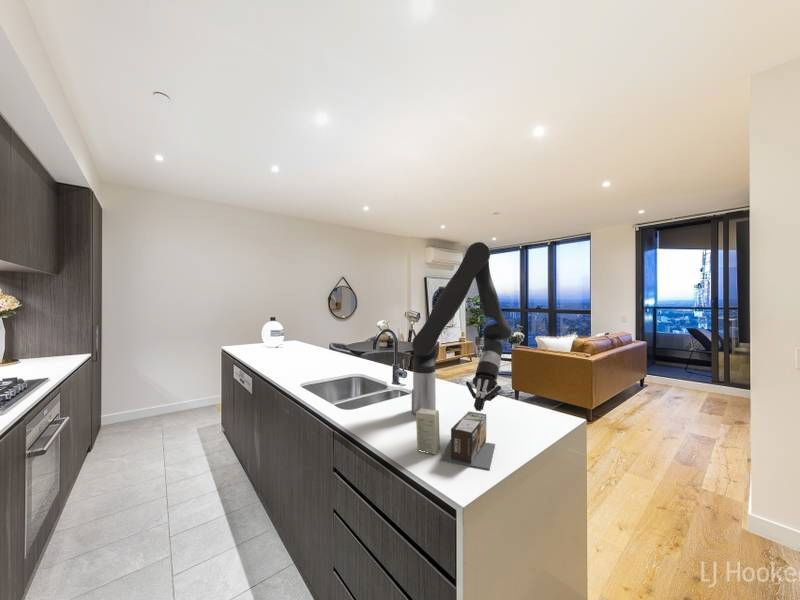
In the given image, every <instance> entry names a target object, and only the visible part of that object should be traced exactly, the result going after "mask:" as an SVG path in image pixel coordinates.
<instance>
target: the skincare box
mask: <svg viewBox="0 0 800 600" xmlns="http://www.w3.org/2000/svg"><path fill="white" fill-rule="evenodd" d="M415 418H416V419H415V421H416V447H417V449H416V450H421V451H425V452H428V453H427V454H429V453H432V454H431V455H437V454H436V453H439V451H440V449H441V444H440V443H441V441H440V440H441V438H440V413H439V409H436V410H432V409H423V408H421V409H419V410H418V411H417V412H416V414H415Z"/></svg>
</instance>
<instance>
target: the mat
mask: <svg viewBox="0 0 800 600" xmlns="http://www.w3.org/2000/svg"><path fill="white" fill-rule="evenodd" d="M495 447H496V443H492V442H487V441H486V442H485V443H484V445H483V446H482V448H481V449H480V451H479V452H478V454H477V455H476V457H475V458H474V460H473V461H472V463H469V462H462V461H459V460H455V459H452V458H451V439H450V440H449V442H448V443H447V445H446V448H445V449H444V450H443V453H442V455H441V456H440V457H439V461H440V460H443V461H442V462H444V461H447V462H446V463H449V462H451V463H450V464H454V463H456V464H455V465H461V466H467V467H470V466H471V468H475V469H481V468H482V469H481V470H486V469H489V470H488V471H490V470H491V465H492V461H493V457H494V451H495Z"/></svg>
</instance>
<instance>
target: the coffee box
mask: <svg viewBox="0 0 800 600" xmlns="http://www.w3.org/2000/svg"><path fill="white" fill-rule="evenodd" d="M450 440H451V458H452V459H455V460H459V461H462V462H469V463H472V461H473V460H474V458H475V457H476V455H477V454H478V452H479V451H480V449H481V448H482V446H483V445H484V443H485V442H486V443H487V413H481V412H477V411H467V412H466V414H464V416H463V417H461V418H460V419H459V420H458V421H457V422H455V424H454V425H453V426H452V427H451V429H450Z"/></svg>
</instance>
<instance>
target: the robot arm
mask: <svg viewBox="0 0 800 600" xmlns="http://www.w3.org/2000/svg"><path fill="white" fill-rule="evenodd" d="M490 258H491V249H490V247H489V245H488V244H487V243H485V242H483V241H478V242H473V243H472V244H471V245H469V247H468V248H467V250H466V252H465V255H464V256H463V259H462V260H461V263H460V265H459V266H458V269H457V270H456V272H454V274H453V275H452V277H451V278H450V280H449V281H448V282H447V284H446V286H445V287H443V289H442V291H441V292H440V295H439V296H438V297H437V300H436V301H435V303H434V305H433V307H432V310H431V311H430V314H429V316H428V318H427V320H426V321H425V323H424V324H423V326H422V327H421V329H420V330H419V332H417V334H416V335H414V337H413V339H412V342H411V347H412V350H413V362H412V389H411V414H413V413H414V415H416V412H417V411H418V410H419V409H421V408H423V409H432V410H437V408H436V407H437V406H436V399H437V398H436V362H437V361H436V360H437V355H436V353H437V350H436V348H437V347H436V345H437V342H438V340H439V337H441V334H442V333H443V331H444V329H445V328H446V326H447V325H448V324H449V323H450V321H451V320H452V318H454V316H455V315H456V313H457V312H458V311H459V309H460V307H461V306H462V304H463V302H464V301H465V299H466V297H467V295H468V292H469V290H470V288H471V286H472V283H473V282H474V279H475V282H476V285H477V290H478V298H479V302H480V307H481V310H482V313H483V314H482V315H483V316H484V318H486V319H493V320H494V321H495V323H488V324H486V325H485V326H484V328H483V332H482V333H483V334H482V336H483V347H482V351H481V355H480V356H479V360H478V362H477V367H476V371H475V374H474V375H475V376H473V378H472V380H471V381H465V384H466V387H467V389H468V391H469V393H470V395H471V397H472V398H473V399H474V404H473V407H474V409H475V412H481V411H483V409H484V406H485V402H486V401H488V402H491V401H492V400H494V399H495V398H496V397H497V396H499V395H501V394H502V392H503V390H502V387H501V385H498V382H497V380H498V377H499V372H500V368H501V359H502V355H503V350H504V348H503V344H502V343H501V342H499V341H505V340H508V339H510V337H512V328H511V325H510V323H509V322H508V319H506V317H505V314H504V313H503V311H502V308H501V304H500V300H499V296H498V293H497V290H496V288H495V287H496V286H495V285H494V282H493V278H492V276H491V275H492V274H491V271H490ZM474 387H475V390H476V391H474V389H473V388H474Z"/></svg>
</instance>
